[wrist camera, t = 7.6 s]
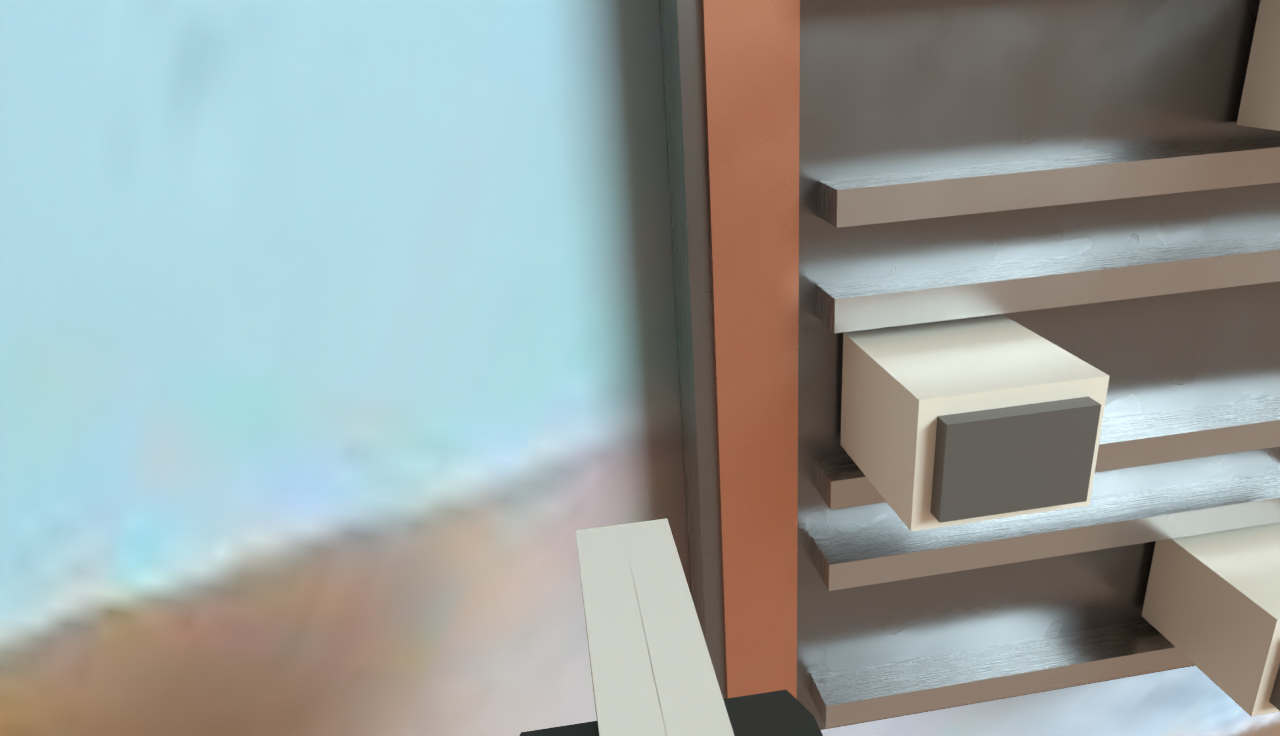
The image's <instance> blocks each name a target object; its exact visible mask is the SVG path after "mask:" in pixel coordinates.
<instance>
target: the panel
mask: <svg viewBox="0 0 1280 736" xmlns="http://www.w3.org/2000/svg"><path fill="white" fill-rule="evenodd" d="M1259 5H1260V0H660V13H661V32H662V51H663V70H664V89H665V108H666V127H667V146H668V165H669V184H670V203H671V222H672V241H673V260H674V279H675V298H676V317H677V336H678V355H679V374H680V393H681V412H682V431H683V450H684V469H685V488H686V507H687V526H688V545H689V564H690V583H691V597H692V600H693V603H694V606H695V610H696V613H697V616H698V619H699V623H700V626H701V629H702V632H703V636H704V639H705V642H706V645H707V649H708V652H709V655H710V658H711V662H712V665H713V668H714V671H715V674H716V678H717V681H718V684H719V687H720V691H721V694H722V697H723V699H727V698H734V697H740V696H747V695H754V694H760V693H767V692H773V691H780V690H787V691H788V692H789V693H790V694H792V695H793V696H794V697H795V698H796V699H797V700H798V701H799V702H800V703H801V704H802V705H803V706H804V707H805V708H806V709H807V710H808V711H809V712H810V713H811V714H812V715H813V716H814V717H815V720H816V722H817V724H818V727H819V729H820V730H823V729H829V728H835V727H840V726H846V725H852V724H858V723H864V722H869V721H875V720H881V719H887V718H893V717H899V716H904V715H910V714H916V713H922V712H928V711H933V710H939V709H945V708H951V707H957V706H963V705H968V704H974V703H980V702H986V701H992V700H997V699H1003V698H1009V697H1015V696H1021V695H1026V694H1032V693H1038V692H1044V691H1050V690H1056V689H1061V688H1067V687H1073V686H1079V685H1085V684H1090V683H1096V682H1102V681H1108V680H1114V679H1120V678H1125V677H1131V676H1137V675H1143V674H1149V673H1154V672H1160V671H1166V670H1172V669H1178V668H1184V667H1189V666H1195V664H1194V663H1192V662H1191V661H1190V660H1189V659H1188V658H1187V657H1186V656H1185V655H1184V654H1183V653H1182V652H1180V651H1179V650H1178V649H1177V648H1176V647H1175V646H1174V645H1173V644H1172V643H1171V642H1170V641H1168V640H1167V639H1166V638H1165V637H1164V636H1163V635H1162V634H1161V633H1160V632H1159V631H1158V630H1157V629H1155V628H1154V627H1153V626H1152V625H1151V624H1150V623H1149V622H1148V621H1147V620H1146V619H1145V618H1143V617H1142V610H1143V605H1144V600H1145V595H1146V590H1147V585H1148V579H1149V574H1150V569H1151V564H1152V559H1153V554H1154V548H1155V543H1156V541H1160V540H1166V539H1173V538H1179V537H1186V536H1192V535H1199V534H1205V533H1212V532H1218V531H1225V530H1232V529H1238V528H1245V527H1251V526H1258V525H1264V524H1271V523H1277V522H1280V131H1278V130H1270V129H1263V128H1255V127H1247V126H1240V125H1236V124H1237V119H1238V113H1239V108H1240V103H1241V98H1242V93H1243V87H1244V82H1245V77H1246V72H1247V67H1248V62H1249V56H1250V51H1251V46H1252V41H1253V36H1254V30H1255V25H1256V20H1257V15H1258V10H1259ZM997 314H1003V315H1004V316H1006V317H1008V318H1010V319H1011V320H1013V321H1015V322H1017V323H1018V324H1020V325H1022V326H1024V327H1025V328H1027V329H1029V330H1031V331H1032V332H1034V333H1036V334H1038V335H1039V336H1041V337H1043V338H1045V339H1046V340H1048V341H1050V342H1052V343H1053V344H1055V345H1057V346H1059V347H1060V348H1062V349H1064V350H1066V351H1067V352H1069V353H1071V354H1073V355H1074V356H1076V357H1078V358H1079V359H1081V360H1083V361H1085V362H1086V363H1088V364H1090V365H1092V366H1093V367H1095V368H1097V369H1099V370H1100V371H1102V372H1104V373H1106V374H1107V375H1109V376H1110V377H1109V383H1108V390H1107V396H1106V403H1105V409H1104V416H1103V422H1102V428H1101V435H1100V441H1099V448H1098V454H1097V461H1096V467H1095V474H1094V480H1093V486H1092V493H1091V499H1090V505H1089V506H1082V507H1075V508H1069V509H1062V510H1055V511H1048V512H1041V513H1034V514H1028V515H1021V516H1014V517H1007V518H1000V519H993V520H986V521H980V522H973V523H966V524H959V525H952V526H945V527H939V528H932V529H925V530H918V531H910V530H909V529H908V527H907V526H906V525H905V524H904V523H903V521H902V520H901V519H900V518H899V516H898V515H897V514H896V513H895V511H894V510H893V509H892V508H891V507H890V505H889V504H888V503H887V502H886V500H885V499H884V498H883V497H882V495H881V494H880V493H879V492H878V491H877V489H876V488H875V487H874V486H873V484H872V483H871V482H870V481H869V479H868V478H867V477H866V476H865V475H864V473H863V472H862V471H861V470H860V468H859V467H858V466H857V465H856V463H855V462H854V461H853V460H852V459H851V457H850V456H849V455H848V454H847V452H846V451H845V450H844V449H843V447H842V446H841V445H840V442H841V403H842V365H843V332H852V331H860V330H869V329H877V328H886V327H895V326H903V325H912V324H920V323H929V322H937V321H946V320H954V319H963V318H971V317H980V316H988V315H997Z"/></svg>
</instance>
